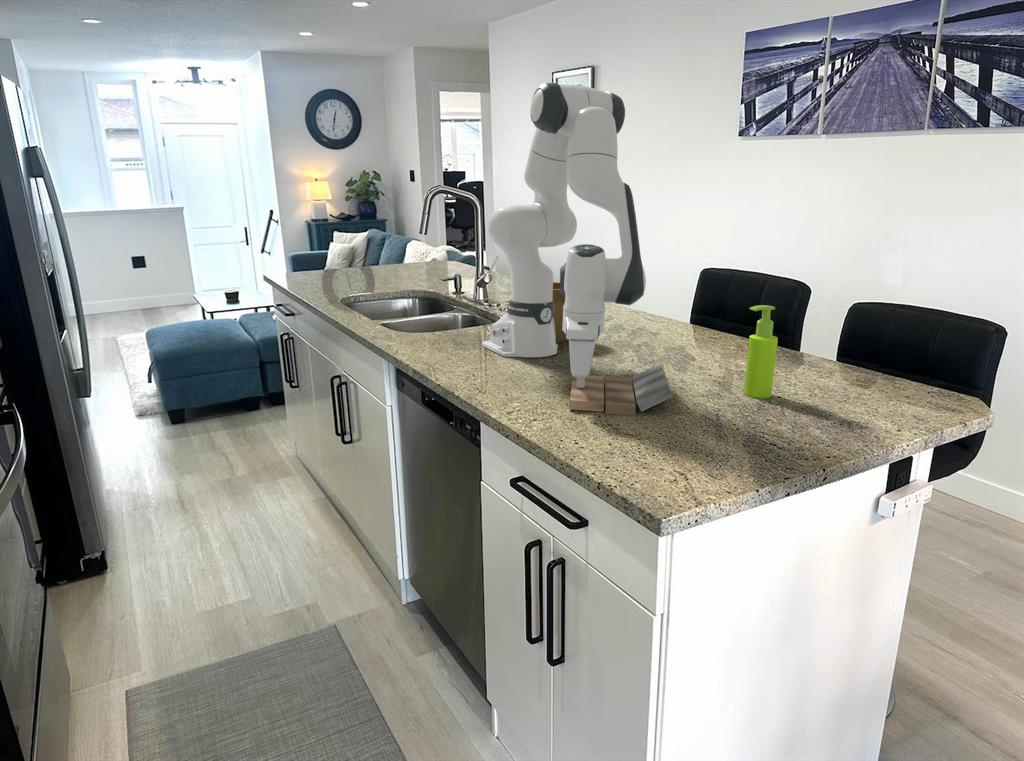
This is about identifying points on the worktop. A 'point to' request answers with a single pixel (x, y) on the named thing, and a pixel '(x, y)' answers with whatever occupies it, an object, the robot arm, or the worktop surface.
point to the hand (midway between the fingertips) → (580, 385)
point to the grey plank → (651, 387)
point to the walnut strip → (619, 396)
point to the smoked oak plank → (588, 394)
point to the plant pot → (558, 312)
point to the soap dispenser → (761, 356)
